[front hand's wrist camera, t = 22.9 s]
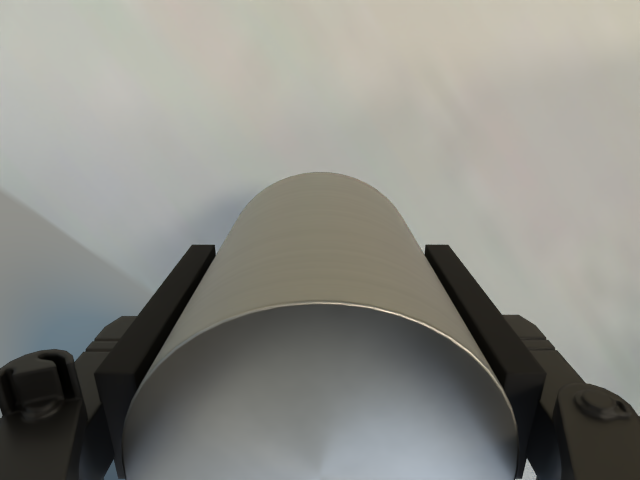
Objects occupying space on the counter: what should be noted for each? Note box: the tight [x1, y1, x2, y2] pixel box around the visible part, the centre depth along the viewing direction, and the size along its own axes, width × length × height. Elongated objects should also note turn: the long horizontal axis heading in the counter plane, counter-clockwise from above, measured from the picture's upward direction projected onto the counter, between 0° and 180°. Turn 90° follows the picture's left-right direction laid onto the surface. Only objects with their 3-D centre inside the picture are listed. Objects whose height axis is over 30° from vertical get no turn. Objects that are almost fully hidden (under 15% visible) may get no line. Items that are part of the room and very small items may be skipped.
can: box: [122, 172, 519, 480], centre depth 12 cm, size 7×7×9 cm
